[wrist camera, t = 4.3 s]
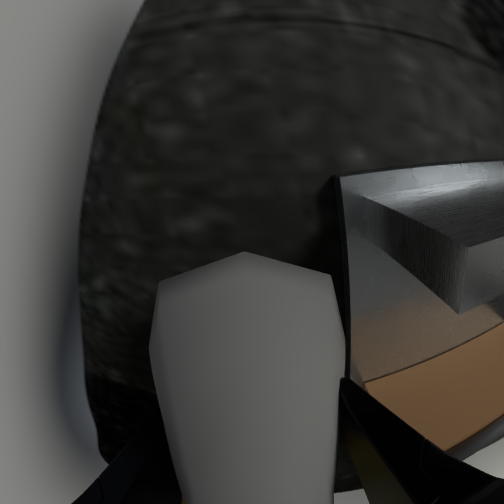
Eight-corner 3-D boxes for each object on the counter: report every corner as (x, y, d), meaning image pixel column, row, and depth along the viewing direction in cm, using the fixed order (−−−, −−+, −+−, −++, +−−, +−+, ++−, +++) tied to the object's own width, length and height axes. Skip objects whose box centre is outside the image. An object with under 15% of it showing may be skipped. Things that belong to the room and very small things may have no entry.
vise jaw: (499, 339, 16) (550, 394, 9) (362, 401, 17) (400, 495, 9) (505, 321, 16) (561, 375, 8) (364, 383, 16) (408, 484, 8)
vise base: (493, 346, 18) (538, 396, 11) (344, 409, 19) (373, 495, 11) (521, 158, 12) (603, 181, 5) (332, 175, 13) (441, 214, 5)
